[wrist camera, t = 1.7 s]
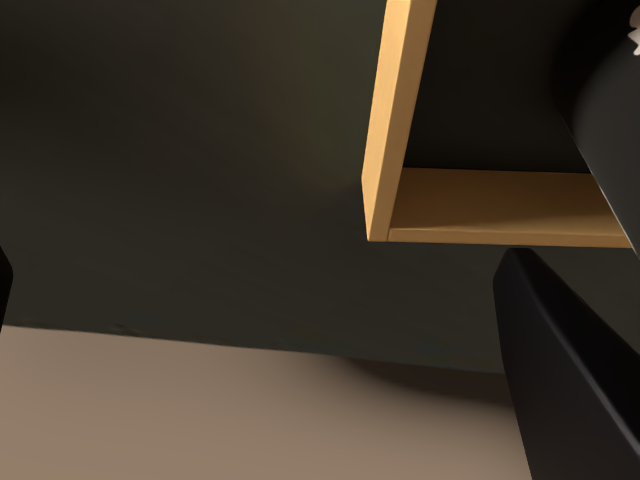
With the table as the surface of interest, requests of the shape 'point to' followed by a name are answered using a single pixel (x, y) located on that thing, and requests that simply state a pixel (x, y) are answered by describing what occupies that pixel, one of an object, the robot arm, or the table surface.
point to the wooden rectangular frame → (457, 184)
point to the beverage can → (606, 104)
